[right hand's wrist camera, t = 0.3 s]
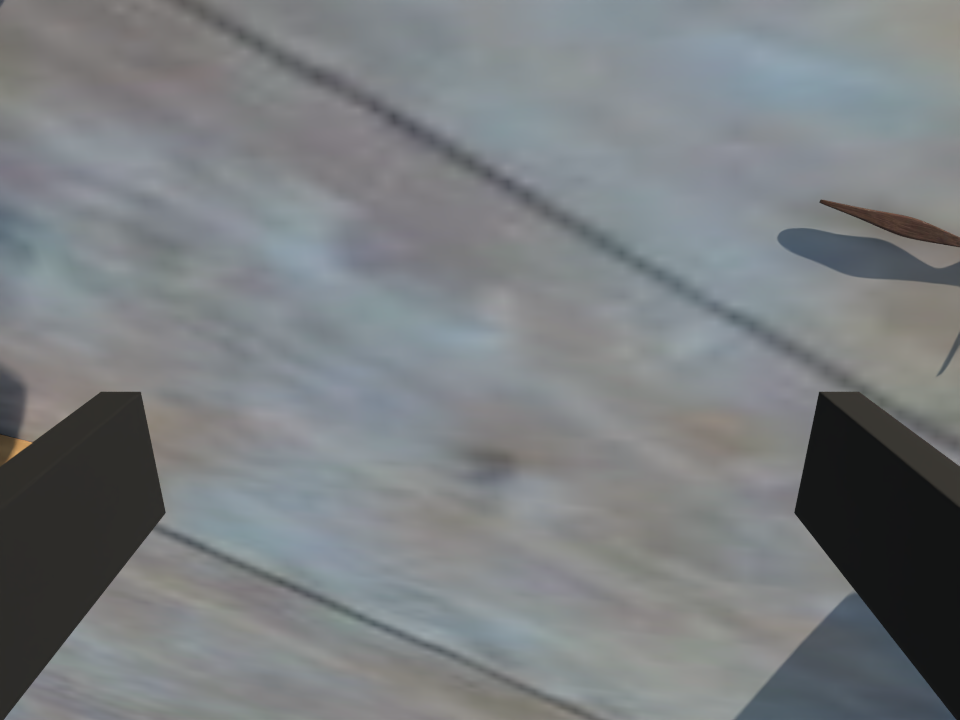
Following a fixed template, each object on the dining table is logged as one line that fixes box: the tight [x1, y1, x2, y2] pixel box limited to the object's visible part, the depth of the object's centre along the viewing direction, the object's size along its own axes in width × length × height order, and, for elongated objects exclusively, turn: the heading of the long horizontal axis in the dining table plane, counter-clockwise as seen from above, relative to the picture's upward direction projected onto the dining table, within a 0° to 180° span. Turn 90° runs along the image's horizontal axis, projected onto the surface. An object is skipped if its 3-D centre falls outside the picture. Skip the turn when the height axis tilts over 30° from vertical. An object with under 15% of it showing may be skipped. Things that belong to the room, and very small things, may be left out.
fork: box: [820, 200, 960, 247], centre depth 37 cm, size 3×16×2 cm, turn 74°
